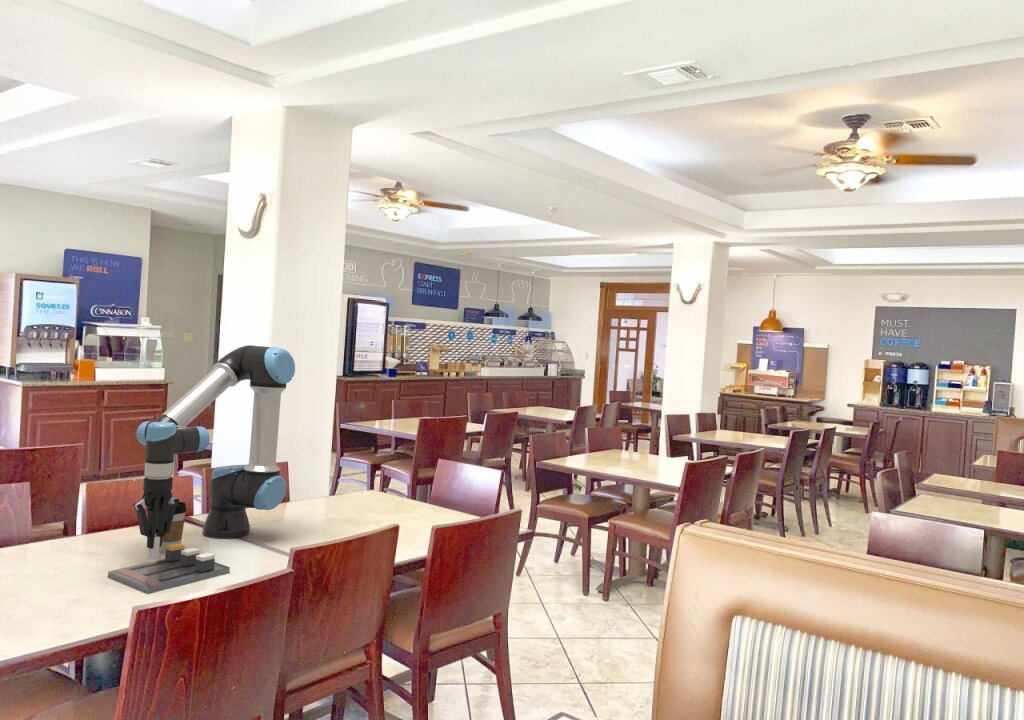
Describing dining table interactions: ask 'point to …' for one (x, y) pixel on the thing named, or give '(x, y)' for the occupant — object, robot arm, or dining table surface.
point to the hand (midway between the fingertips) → (153, 558)
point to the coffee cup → (175, 527)
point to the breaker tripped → (173, 551)
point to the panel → (163, 575)
